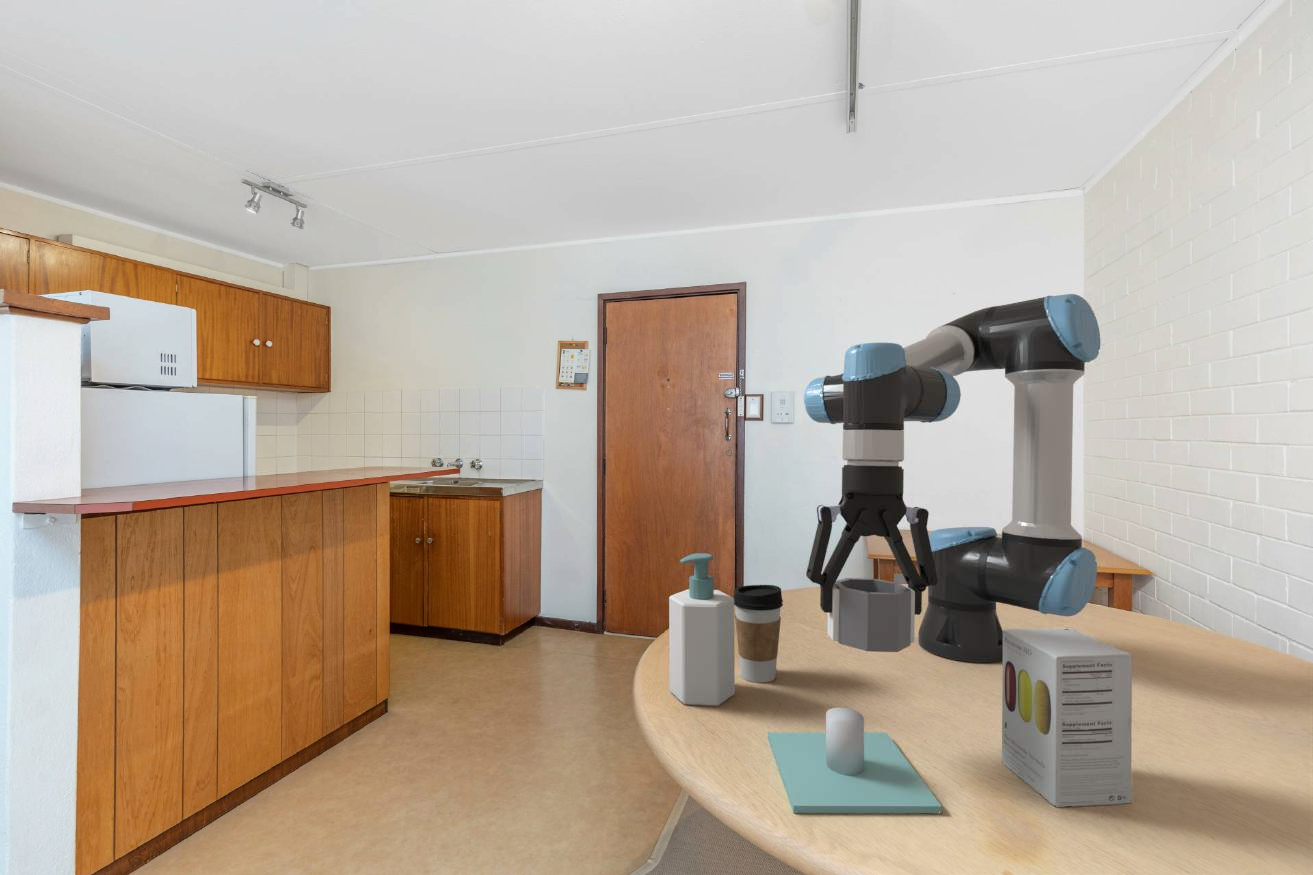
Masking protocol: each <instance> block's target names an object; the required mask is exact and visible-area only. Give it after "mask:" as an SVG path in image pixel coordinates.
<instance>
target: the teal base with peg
mask: <svg viewBox="0 0 1313 875" xmlns="http://www.w3.org/2000/svg"><path fill="white" fill-rule="evenodd" d="M767 741H768V743H769V747H770V749H771V752H772V754H773V758H774V760H775V764H776V766H777V767H776V768H777V769H778V772H779V775H780V778H781V781H782V784H783V786H784V790H785V792H786V795H787V798H788V802H789V804H790V807H791V810H792V813H793V814H900V815H901V814H903V815H904V814H905V813H906V814H907V813H909V814H910V813H911V814H913V813H914V814H915V815H916V813H918V814H919V813H939V812H940V813H942V811H943V810H942V809H943V807H942V805H941V803H940V802H939V801H938V800H937V798H936V797H935V796H934V794H933V793H932V791H931V790H930V789H929V787H928V786H927V785H926V783H925V782H924V780H923V779H922V778H921V776H920V775H919V774H918V772H916V770H915V769H914V767H913V766H912V764H910V762H909V760H907V758H906V757H905V755H904V754H903V753H902V752H901V750H900V749H899V747H898V745H897V744H896V743H895V742H894V740H892V738H891V736H890V735H889V734H888V733H887V732H882V731H881V732H872V731H871V732H870V731H869V732H868V731H867V732H865V717H864V716H863V714H862V713H860V712H859V711H857V710H855V709H851V708H847V707H833V708H830V709H828V710H826V713H825V731H821V732H820V731H819V732H817V731H816V732H814V731H813V732H811V731H810V732H808V731H806V732H805V731H801V732H800V731H796V732H795V731H794V732H793V731H792V732H791V731H789V732H787V731H785V732H784V731H778V732H777V731H775V732H774V731H773V732H772V731H771V732H769V731H767ZM942 814H943V813H942ZM907 815H908V814H907Z"/></svg>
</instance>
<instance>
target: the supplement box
mask: <svg viewBox="0 0 1313 875" xmlns="http://www.w3.org/2000/svg"><path fill="white" fill-rule="evenodd" d="M1002 630H1003V660H1002V685H1001V686H1002V691H1001V692H1002V694H1001V696H1002V698H1001V699H1002V700H1001V701H1002V704H1001V706H1002V707H1001V708H1002V709H1001V710H1002V711H1001V719H1002V720H1001V763H1003V764H1004V765H1005V767H1006V766H1007V768H1009V770H1011V771H1012V772H1013V773H1014V774H1016V775H1017V776H1018V777H1019V778H1020V779H1021V780H1023V781H1024V782H1025V783H1027V785H1029V786H1030V787H1031V788H1032V789H1033V790H1035V791H1036V793H1038V794H1039V795H1040V794H1041V797H1043V798H1044V799H1045V800H1046V799H1047V800H1046V801H1047V802H1049V803H1050V804H1051V803H1052V804H1053V805H1052V804H1051V805H1052V806H1054V805H1055V806H1057V807H1056V808H1067V807H1066V806H1072V807H1085V806H1086V807H1089V806H1103V805H1104V806H1105V805H1122V804H1123V805H1124V803H1125V804H1132V745H1133V744H1132V741H1133V740H1132V722H1133V720H1132V718H1133V716H1132V715H1133V714H1132V711H1133V707H1132V706H1133V704H1132V702H1133V697H1132V696H1133V655H1132V654H1131V653H1130V652H1127V651H1124V650H1121V649H1119V648H1117V647H1114V646H1112V645H1109V644H1107V643H1104V642H1102V641H1100V640H1098V639H1095V638H1093V637H1091V636H1088V635H1086V634H1084V633H1082V632H1079V631H1077V630H1075V628H1074V629H1073V628H1071V627H1046V628H1045V627H1042V628H1039V627H1038V628H1009V629H1008V628H1006V629H1002ZM1055 806H1054V807H1055ZM1064 806H1065V807H1064Z"/></svg>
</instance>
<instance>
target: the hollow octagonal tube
mask: <svg viewBox="0 0 1313 875" xmlns="http://www.w3.org/2000/svg"><path fill="white" fill-rule="evenodd" d="M834 585H835V586H836V587H837V588H838V589H840V608H839V641H837V642H838V644H840V645H842V646H847V647H850V648H854V649H858V650H861V651H865V652H875V653H876V652H877V653H878V652H881V653H899V652H901V651H902V650H903V651H904V650H905V649H906V648H909V647H910V646H911V643H910V634H911V590H910V589H908V588H907V587H908V586H907V587H905V586H906V585H903V584H901V583H900V582H895V581H889V580H884V579H877V578H870V577H869V578H865V577H861V578H859V577H857V578H856V577H846V578H842V579H838V580H836V582H835V584H834Z"/></svg>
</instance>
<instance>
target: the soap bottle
mask: <svg viewBox="0 0 1313 875" xmlns="http://www.w3.org/2000/svg"><path fill="white" fill-rule="evenodd" d="M713 559H714V555H712V554H710V553H706V552H704V553H702V552H701V553H699V552H697V553H696V552H695V553H693V554H689V555H687V556H685V557H683V558H681V559H680V560H679V563H680V564H681V565H683V564H687V563H693V565H694V566H693V567H694V568H693V571H694V572H693V574H694V575H691V576H689V578H688V581H689V585H688V587H689V588H688V589H685V590H683V591H680V592H677V593H675V594H672V595H670V596H669V597H668V602H669V603H668V606H669V608H668V610H669V612H668V614H669V615H668V616H669V617H668V618H669V620H668V621H669V622H668V623H669V624H668V625H669V627H668V628H669V636H668V637H669V638H668V639H669V640H668V641H669V645H668V647H669V648H668V649H669V658H668V659H669V692H671V694H672V695H673V696H675V697H676V699H678V700H679V702H681V703H682V704H683V705H685V706H700V707H701V706H702V707H703V706H704V707H705V706H707V707H718V706H720V705H721V704H723V703H724V702H725V701H727V700H729V698H731V697H732V696H734V695H735V693H736V692H735V689H736V688H735V687H736V686H735V682H736V681H735V678H736V677H735V605H734V598H733V597H734V596H732V595H731V596H730V595H729V594H727V593H725V592H723V591H721V590H719V589H715V588H714V583H715V582H714V580H715V579H714V577H713V576H711V575H709V574H710V573H709V572H710V570H709V569H710V567H709V566H710V565H709V562H710V561H712V560H713Z"/></svg>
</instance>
